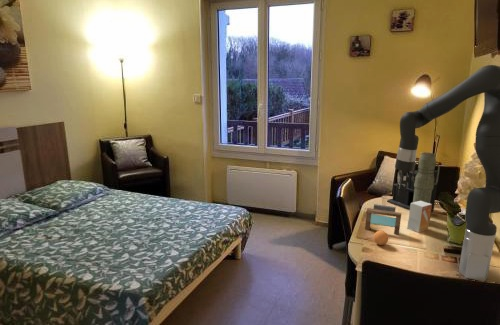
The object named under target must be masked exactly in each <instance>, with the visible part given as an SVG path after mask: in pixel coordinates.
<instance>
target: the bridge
mask: <svg viewBox="0 0 500 325" xmlns="http://www.w3.org/2000/svg"><path fill="white" fill-rule="evenodd" d="M371 214H374V215H380V216H387V217H393V218H396V222H395V227H394V232H393V234H394V235H396V236H397V235H400V227H401V219H402V212H398V211H395V212H392V211H385V210H378V209H374V208H371V207H367V209H366V215H365V217H366V218H365V227H364V229H365V230H368V231H369V230H370V228H371V223H370V222H371Z"/></svg>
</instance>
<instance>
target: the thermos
mask: <svg viewBox="0 0 500 325" xmlns="http://www.w3.org/2000/svg"><path fill="white" fill-rule="evenodd" d="M416 165H417V170H416ZM436 166H437V170H435V169H436ZM440 168H441V166H440V164H439V163H437V159H436V154H434V153H433V152H422V153H420V155H419V158H418V161H415V166H414V170H413V173H412V181H413V182H414V187H415V190H414V197H413V202H417V201H423V202H427V203H430V200H431V193H432V190H433V187H434V185H437V186H438V182H439V175H440ZM415 171H417V174H416V176H415V179H414V173H415ZM434 171H437V176H436V183H435V181H434V180H435V178H434Z"/></svg>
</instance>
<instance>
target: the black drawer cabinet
mask: <svg viewBox="0 0 500 325" xmlns="http://www.w3.org/2000/svg"><path fill="white" fill-rule="evenodd" d="M408 172H409V173H408V175H409V177H408V181H407V186H406V190H405V191H404V197H403V198H399V197H398V192H399V191H397V184H398V182H397V183H393V189H392V190H393V191H392V198H390V199H387V200H386V202H387V203H389V204H392V205H393V206H394V205H395V206H396V207H400V208H403V209H405V210H408V211H410V204H411V203H413V197H414V190H415V187H414V182H413V181H412V173H413V171H408ZM416 174H417V170H415V173H414V179H415V176H416ZM436 176H437V170H434V178H435V180H434V181H435V183H436ZM403 187H404V185H403ZM437 187H438V184H437V185H434V187H433V190H432V193H431V200H430V204H432V208H431V213H433V212H434V210H435V203H436V197H437Z"/></svg>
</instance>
